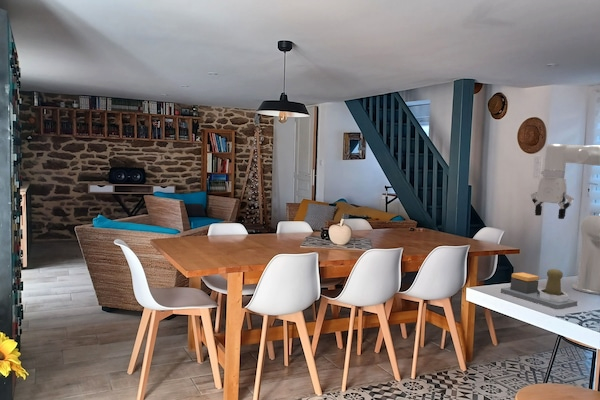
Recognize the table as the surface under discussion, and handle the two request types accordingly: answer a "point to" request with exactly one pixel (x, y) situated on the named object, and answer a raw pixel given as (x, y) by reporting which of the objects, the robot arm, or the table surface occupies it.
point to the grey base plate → (532, 293)
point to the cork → (554, 282)
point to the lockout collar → (552, 296)
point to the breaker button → (525, 276)
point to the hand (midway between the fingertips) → (549, 217)
